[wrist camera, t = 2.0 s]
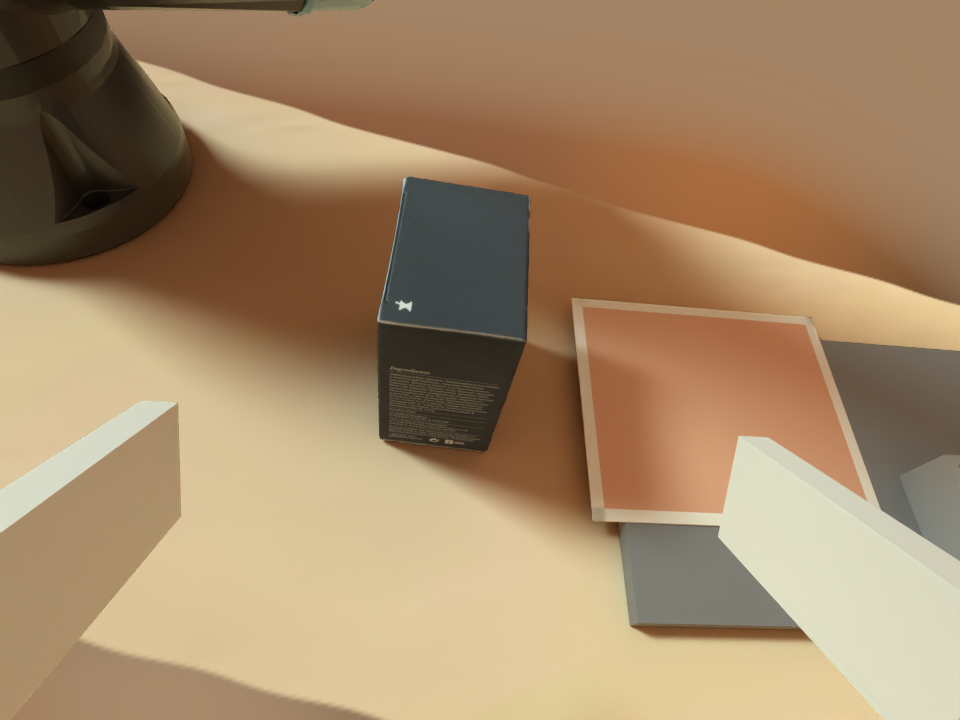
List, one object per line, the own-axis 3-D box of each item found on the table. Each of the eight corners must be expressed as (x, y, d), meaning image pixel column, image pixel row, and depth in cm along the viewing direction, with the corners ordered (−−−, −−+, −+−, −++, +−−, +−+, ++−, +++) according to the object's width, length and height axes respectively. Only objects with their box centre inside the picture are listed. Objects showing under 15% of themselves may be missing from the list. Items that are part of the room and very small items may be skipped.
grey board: (566, 308, 35) (585, 265, 32) (949, 339, 38) (1003, 302, 35) (595, 625, 26) (625, 611, 23) (1098, 636, 29) (1192, 625, 25)
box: (488, 454, 30) (529, 342, 21) (377, 441, 29) (370, 321, 20) (496, 329, 34) (533, 190, 25) (400, 316, 33) (402, 171, 25)
